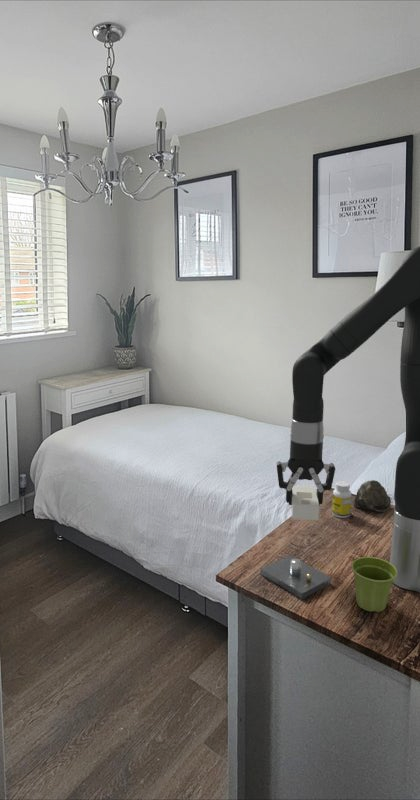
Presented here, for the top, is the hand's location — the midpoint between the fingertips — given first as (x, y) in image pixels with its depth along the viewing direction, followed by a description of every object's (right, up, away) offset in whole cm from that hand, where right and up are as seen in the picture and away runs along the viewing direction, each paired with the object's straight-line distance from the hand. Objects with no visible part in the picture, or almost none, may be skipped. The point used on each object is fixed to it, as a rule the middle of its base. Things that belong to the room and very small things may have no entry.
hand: (303, 504), depth 126 cm
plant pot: (+12, -19, -13) cm, 26 cm away
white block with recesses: (0, -1, 0) cm, 1 cm away
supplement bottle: (+16, -9, +30) cm, 36 cm away
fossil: (+27, -8, +35) cm, 45 cm away
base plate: (-3, -17, -4) cm, 17 cm away
